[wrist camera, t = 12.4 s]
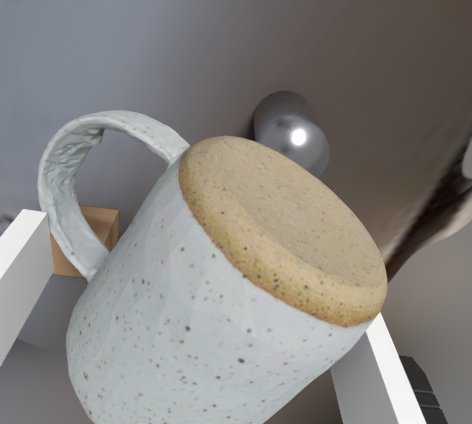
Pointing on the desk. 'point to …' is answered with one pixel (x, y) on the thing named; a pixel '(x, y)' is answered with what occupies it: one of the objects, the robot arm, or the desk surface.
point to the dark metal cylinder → (292, 131)
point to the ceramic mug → (208, 280)
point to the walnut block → (102, 226)
